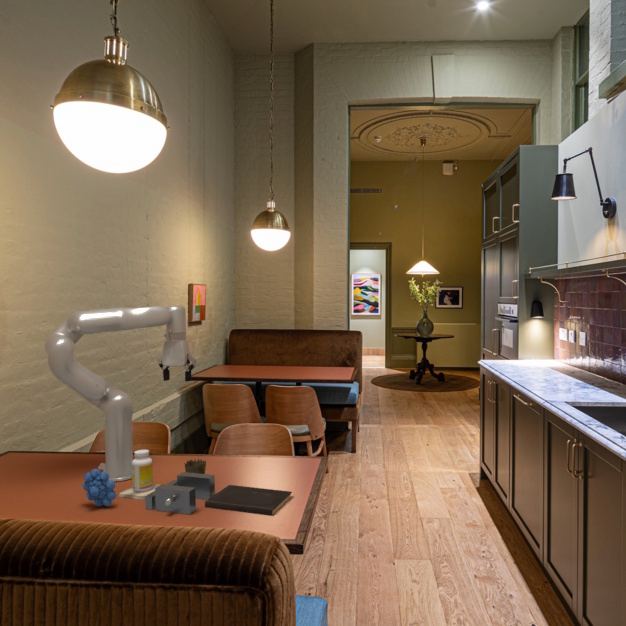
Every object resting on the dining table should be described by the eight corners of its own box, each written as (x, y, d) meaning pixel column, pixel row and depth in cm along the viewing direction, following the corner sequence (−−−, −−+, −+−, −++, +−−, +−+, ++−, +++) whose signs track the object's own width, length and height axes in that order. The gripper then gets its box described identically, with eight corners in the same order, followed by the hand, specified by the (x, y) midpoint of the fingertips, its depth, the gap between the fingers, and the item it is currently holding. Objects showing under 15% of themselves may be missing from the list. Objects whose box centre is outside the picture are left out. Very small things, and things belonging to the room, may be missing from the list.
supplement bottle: (157, 486, 182) (156, 449, 182) (145, 493, 176) (144, 454, 176) (140, 484, 184) (139, 448, 184) (128, 491, 178) (127, 453, 178)
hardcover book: (229, 491, 182) (229, 484, 182) (292, 498, 174) (291, 491, 174) (204, 509, 166) (204, 501, 166) (272, 517, 159) (272, 510, 159)
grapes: (74, 510, 165) (73, 472, 165) (88, 502, 172) (87, 465, 172) (108, 513, 163) (107, 474, 163) (120, 504, 170) (119, 467, 169)
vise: (139, 512, 163) (139, 490, 163) (173, 491, 181) (173, 471, 180) (184, 518, 158) (183, 495, 158) (214, 496, 176) (214, 475, 176)
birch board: (119, 497, 176) (119, 493, 176) (139, 485, 187) (139, 482, 187) (147, 500, 173) (147, 496, 173) (166, 488, 183) (166, 485, 183)
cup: (201, 488, 183) (200, 465, 183) (181, 487, 184) (180, 464, 184) (209, 481, 190) (209, 459, 190) (190, 480, 192) (190, 458, 191)
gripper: (151, 337, 208) (152, 381, 208) (190, 338, 202) (191, 382, 203) (162, 336, 215) (163, 378, 215) (200, 336, 209) (201, 379, 210)
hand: (177, 380), depth 209 cm, fingers open, 9 cm apart
